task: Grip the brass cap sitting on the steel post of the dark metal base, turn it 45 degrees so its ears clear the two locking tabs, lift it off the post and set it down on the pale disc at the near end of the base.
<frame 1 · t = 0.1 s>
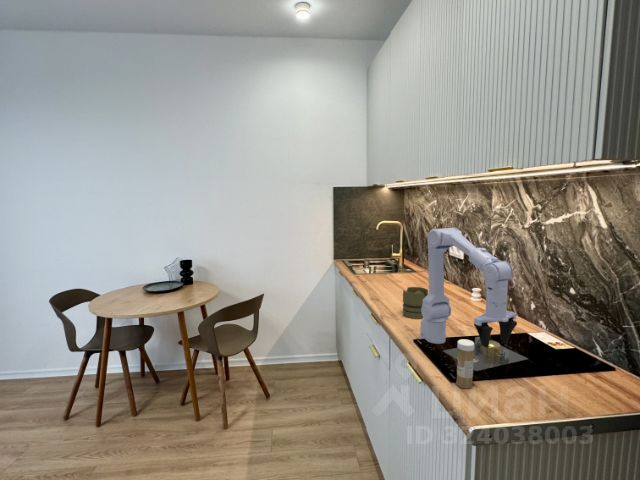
hand: (494, 344, 112), 10 cm above the counter, tool pointing down, fingers open, 7 cm apart
piston: (415, 315, 170), on the counter
cap: (490, 353, 126), point 1 cm above the counter, touching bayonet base
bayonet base: (484, 357, 125), on the counter
sprinkles bottle: (464, 385, 108), on the counter
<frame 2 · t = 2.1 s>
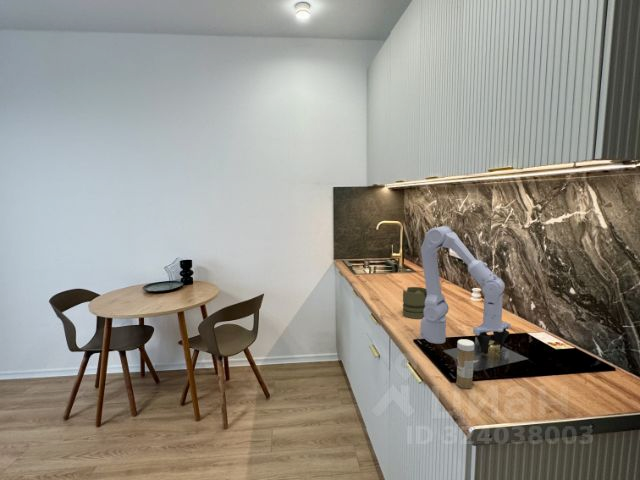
hand: (491, 351, 126), 2 cm above the counter, tool pointing down, fingers closed on cap, 5 cm apart
cap: (490, 353, 126), point 1 cm above the counter, touching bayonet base, gripper
everything else where it was.
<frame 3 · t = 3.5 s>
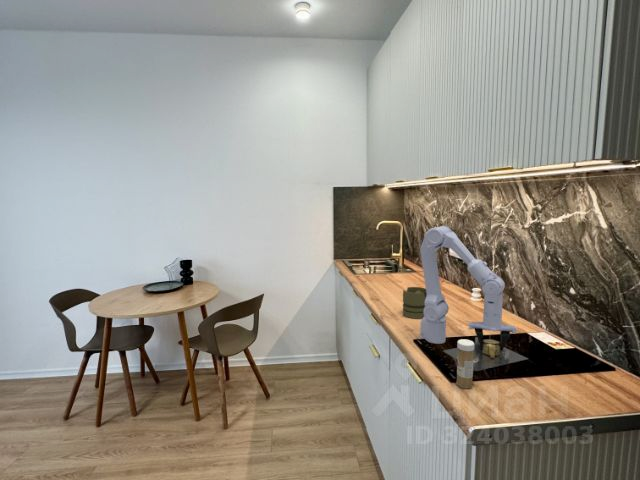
hand: (491, 350, 126), 2 cm above the counter, tool pointing down, fingers closed on cap, 5 cm apart
cap: (490, 352, 126), point 1 cm above the counter, touching gripper
everything else where it was.
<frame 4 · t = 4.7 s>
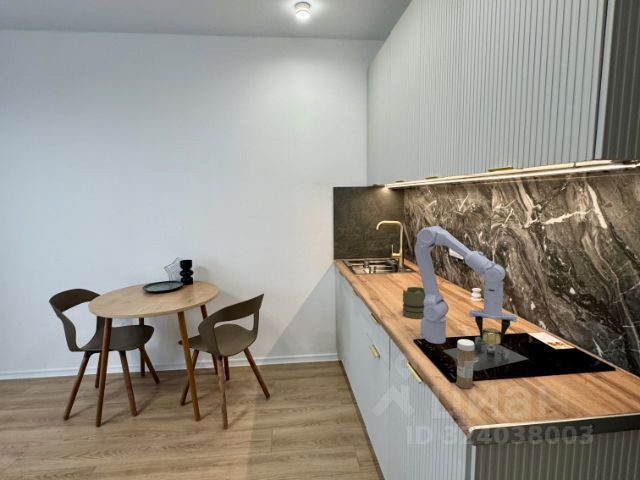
hand: (491, 339, 126), 6 cm above the counter, tool pointing down, fingers closed on cap, 5 cm apart
cap: (491, 340, 126), point 5 cm above the counter, touching gripper
everything else where it was.
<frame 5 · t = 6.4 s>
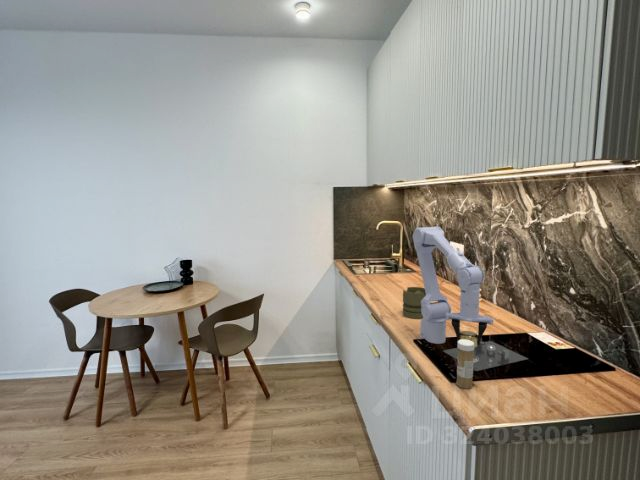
hand: (468, 342, 122), 7 cm above the counter, tool pointing down, fingers closed on cap, 5 cm apart
cap: (468, 344, 122), point 6 cm above the counter, touching gripper
everything else where it was.
when the fingers open (2 cm above the counter, at t = 7.7 s): cap stays where it is, resting on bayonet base.
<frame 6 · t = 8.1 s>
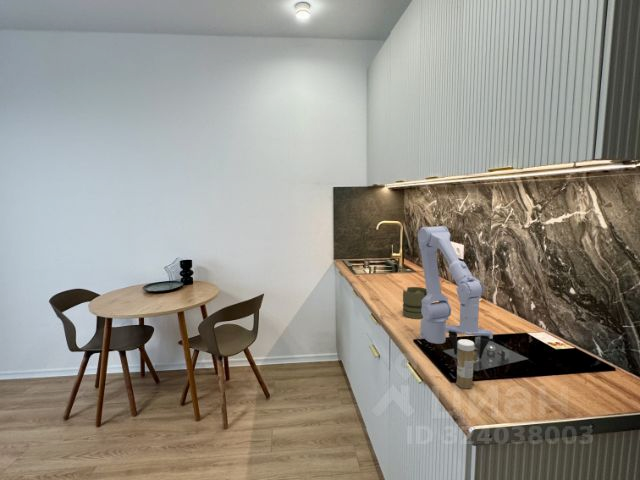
hand: (467, 355, 123), 2 cm above the counter, tool pointing down, fingers open, 7 cm apart
cap: (467, 357, 123), point 1 cm above the counter, touching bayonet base
everything else where it was.
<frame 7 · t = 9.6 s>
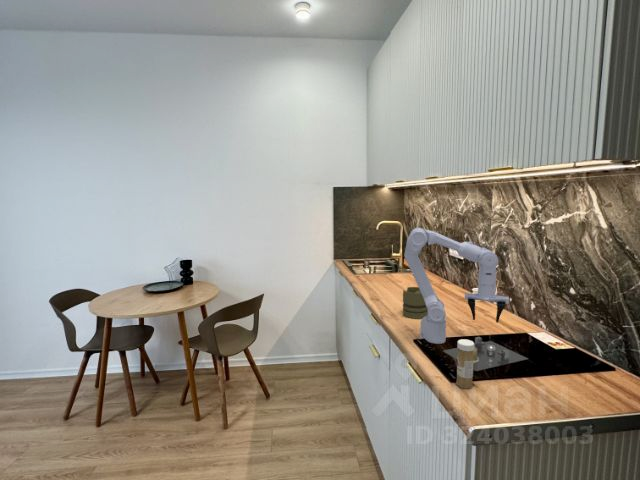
hand: (485, 320, 133), 10 cm above the counter, tool pointing down, fingers open, 7 cm apart
nothing on the counter moved.
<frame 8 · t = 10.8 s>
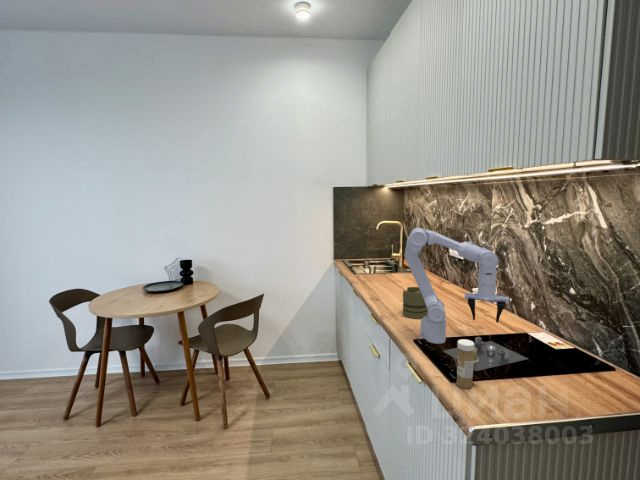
hand: (485, 320, 133), 10 cm above the counter, tool pointing down, fingers open, 7 cm apart
nothing on the counter moved.
at the end: cap inside the target area on the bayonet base (0.0 cm from its centre), point 1.1 cm above the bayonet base's base; cap tilted 0°; the gripper is holding nothing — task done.
